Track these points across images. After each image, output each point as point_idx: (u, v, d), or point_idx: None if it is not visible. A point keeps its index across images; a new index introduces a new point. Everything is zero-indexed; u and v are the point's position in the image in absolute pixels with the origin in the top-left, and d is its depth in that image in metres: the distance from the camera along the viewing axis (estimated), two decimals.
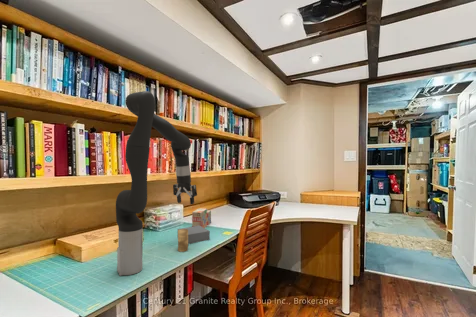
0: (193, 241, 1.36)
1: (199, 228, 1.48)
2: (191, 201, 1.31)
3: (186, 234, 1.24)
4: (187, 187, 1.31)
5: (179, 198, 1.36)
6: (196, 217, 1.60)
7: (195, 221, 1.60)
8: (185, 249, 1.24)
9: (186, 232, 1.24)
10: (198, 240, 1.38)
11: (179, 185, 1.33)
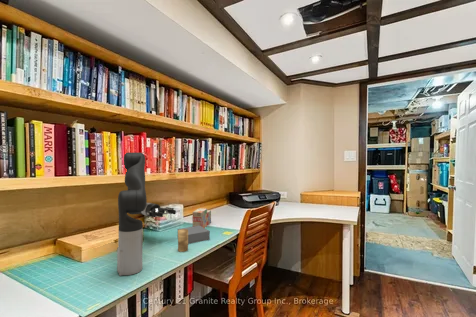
0: (193, 241, 1.36)
1: (199, 228, 1.48)
2: (173, 210, 1.37)
3: (186, 234, 1.24)
4: None
5: None
6: (197, 217, 1.60)
7: (195, 221, 1.60)
8: (185, 249, 1.24)
9: (186, 232, 1.24)
10: (198, 240, 1.38)
11: (153, 209, 1.36)
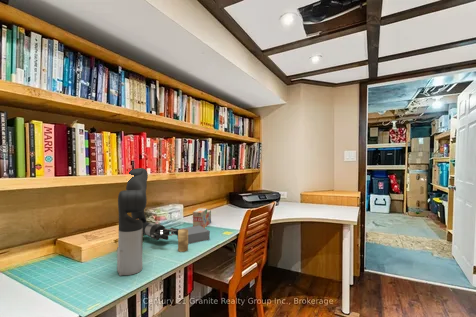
0: (193, 241, 1.36)
1: (199, 228, 1.48)
2: None
3: (186, 234, 1.24)
4: None
5: None
6: (197, 216, 1.60)
7: (196, 221, 1.61)
8: (185, 249, 1.24)
9: (186, 232, 1.24)
10: (198, 240, 1.38)
11: (158, 231, 1.33)
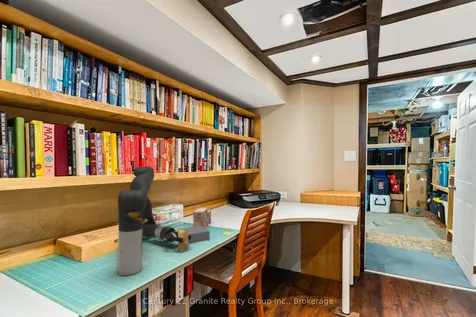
0: (193, 241, 1.36)
1: (199, 228, 1.48)
2: (189, 235, 1.28)
3: (186, 234, 1.24)
4: None
5: None
6: (198, 216, 1.61)
7: (196, 221, 1.61)
8: (185, 249, 1.24)
9: (186, 232, 1.24)
10: (198, 240, 1.38)
11: (168, 234, 1.28)
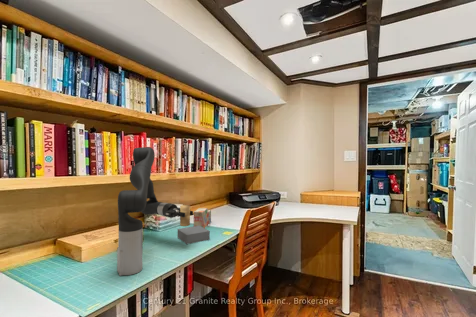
0: (193, 241, 1.36)
1: (199, 228, 1.48)
2: (190, 211, 1.31)
3: (188, 209, 1.28)
4: None
5: None
6: (198, 216, 1.61)
7: (196, 221, 1.61)
8: (187, 224, 1.27)
9: (188, 207, 1.28)
10: (198, 240, 1.38)
11: (170, 210, 1.32)
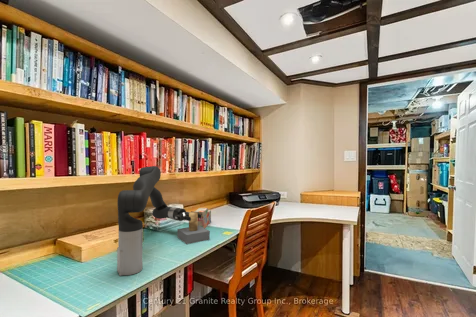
0: (193, 241, 1.36)
1: (199, 228, 1.48)
2: (199, 214, 1.48)
3: (196, 216, 1.43)
4: None
5: None
6: None
7: None
8: (195, 229, 1.42)
9: (196, 214, 1.43)
10: (198, 240, 1.38)
11: (180, 214, 1.47)
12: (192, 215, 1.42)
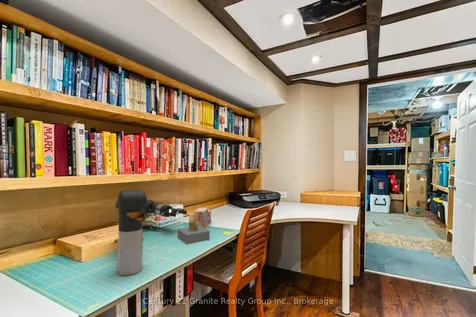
0: (193, 241, 1.36)
1: (199, 228, 1.48)
2: None
3: (196, 216, 1.43)
4: (174, 209, 1.58)
5: None
6: (199, 216, 1.62)
7: None
8: (195, 229, 1.42)
9: (196, 214, 1.43)
10: (198, 240, 1.38)
11: (167, 210, 1.54)
12: (192, 215, 1.42)
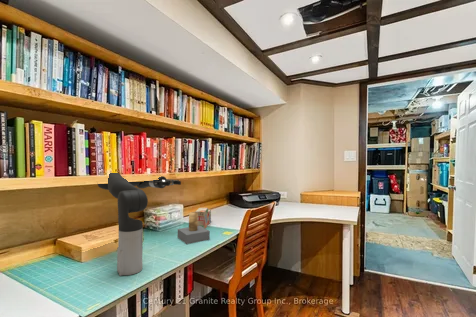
0: (193, 241, 1.36)
1: (199, 228, 1.48)
2: (179, 181, 1.51)
3: (196, 216, 1.43)
4: None
5: None
6: (199, 216, 1.62)
7: (198, 220, 1.62)
8: (195, 229, 1.42)
9: (196, 214, 1.43)
10: (198, 240, 1.38)
11: (160, 180, 1.50)
12: (192, 215, 1.42)
